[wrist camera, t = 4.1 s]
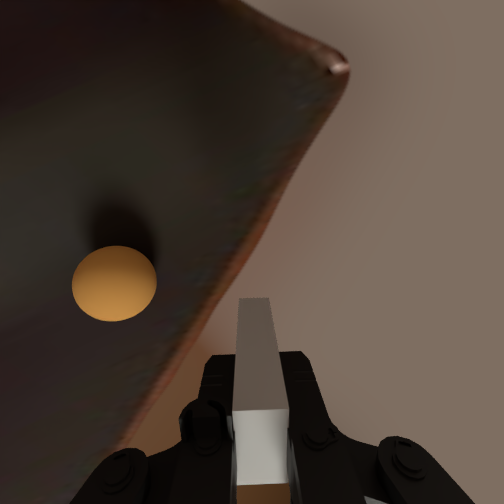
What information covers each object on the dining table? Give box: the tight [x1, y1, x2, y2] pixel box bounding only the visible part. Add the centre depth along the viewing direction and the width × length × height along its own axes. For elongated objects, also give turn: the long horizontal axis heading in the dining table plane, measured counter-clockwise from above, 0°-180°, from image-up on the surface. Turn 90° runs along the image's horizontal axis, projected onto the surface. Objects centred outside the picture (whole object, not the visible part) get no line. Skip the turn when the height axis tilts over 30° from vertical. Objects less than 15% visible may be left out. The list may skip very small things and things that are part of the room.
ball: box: [72, 246, 157, 321], centre depth 19 cm, size 6×6×6 cm
